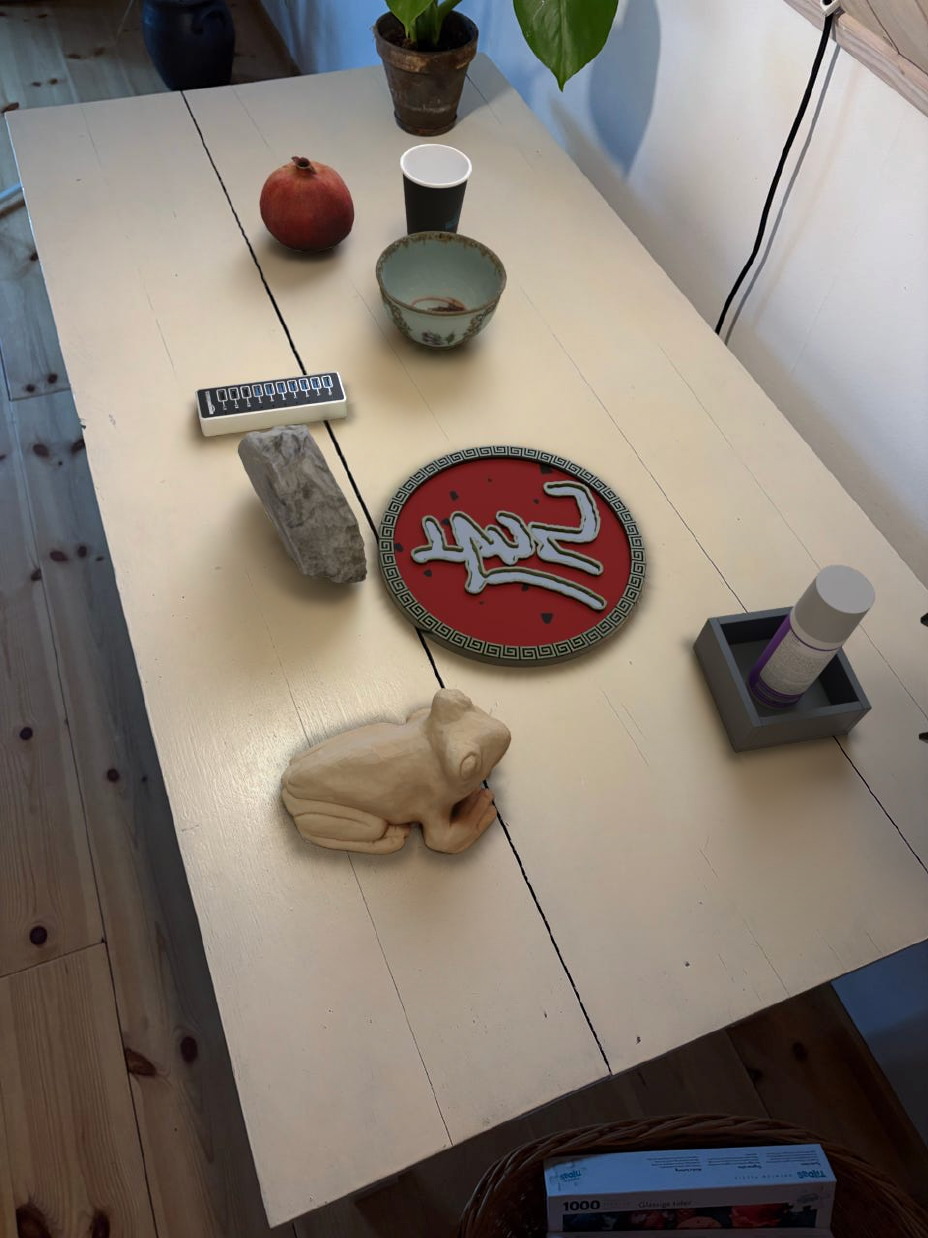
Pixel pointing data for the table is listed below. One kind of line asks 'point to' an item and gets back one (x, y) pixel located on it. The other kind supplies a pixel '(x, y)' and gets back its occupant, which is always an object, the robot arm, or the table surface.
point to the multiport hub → (271, 403)
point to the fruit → (306, 206)
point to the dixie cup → (434, 187)
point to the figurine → (400, 780)
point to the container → (810, 636)
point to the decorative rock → (305, 503)
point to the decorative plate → (511, 556)
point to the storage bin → (726, 665)
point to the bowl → (440, 287)
